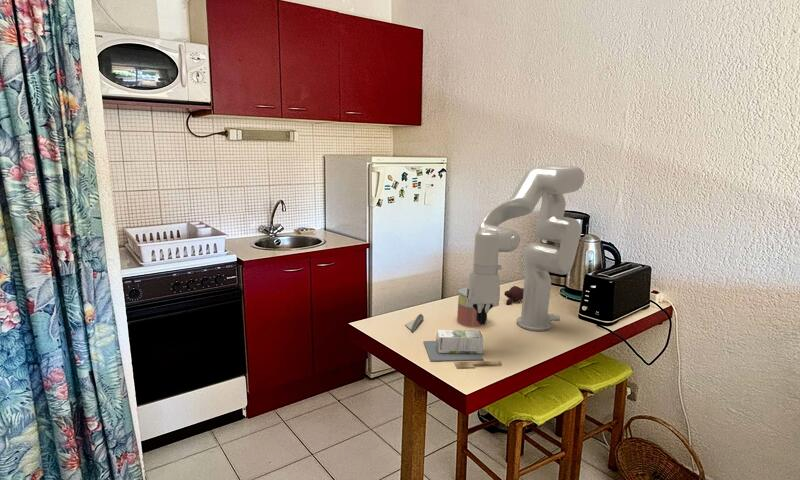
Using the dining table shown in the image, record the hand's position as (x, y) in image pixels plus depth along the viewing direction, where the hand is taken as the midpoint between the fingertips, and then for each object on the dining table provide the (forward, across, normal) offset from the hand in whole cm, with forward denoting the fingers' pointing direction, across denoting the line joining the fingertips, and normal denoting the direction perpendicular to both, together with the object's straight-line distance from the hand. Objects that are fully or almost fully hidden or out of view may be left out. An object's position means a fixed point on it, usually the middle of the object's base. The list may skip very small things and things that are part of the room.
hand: (481, 322), depth 148 cm
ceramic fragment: (+10, +18, -21) cm, 30 cm away
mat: (+10, +9, 0) cm, 13 cm away
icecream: (+10, -30, -46) cm, 55 cm away
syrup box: (+6, 0, +1) cm, 6 cm away
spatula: (+10, +3, +10) cm, 14 cm away
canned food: (+10, -4, -24) cm, 26 cm away
